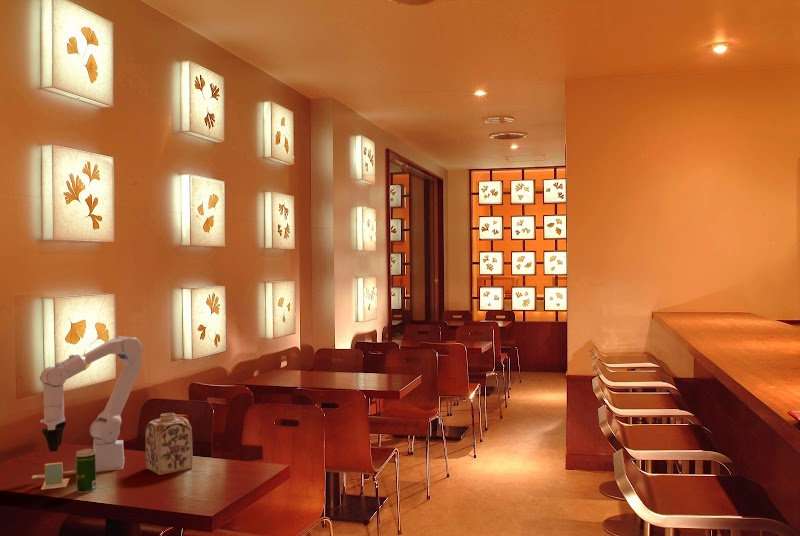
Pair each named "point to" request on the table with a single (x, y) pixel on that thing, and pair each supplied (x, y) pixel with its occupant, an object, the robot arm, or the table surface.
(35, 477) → the wooden turner
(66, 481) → the marble board
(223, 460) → the table surface
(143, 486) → the table surface
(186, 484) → the table surface
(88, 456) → the beer can
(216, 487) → the table surface
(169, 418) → the decorative jar
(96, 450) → the robot arm
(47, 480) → the tile
